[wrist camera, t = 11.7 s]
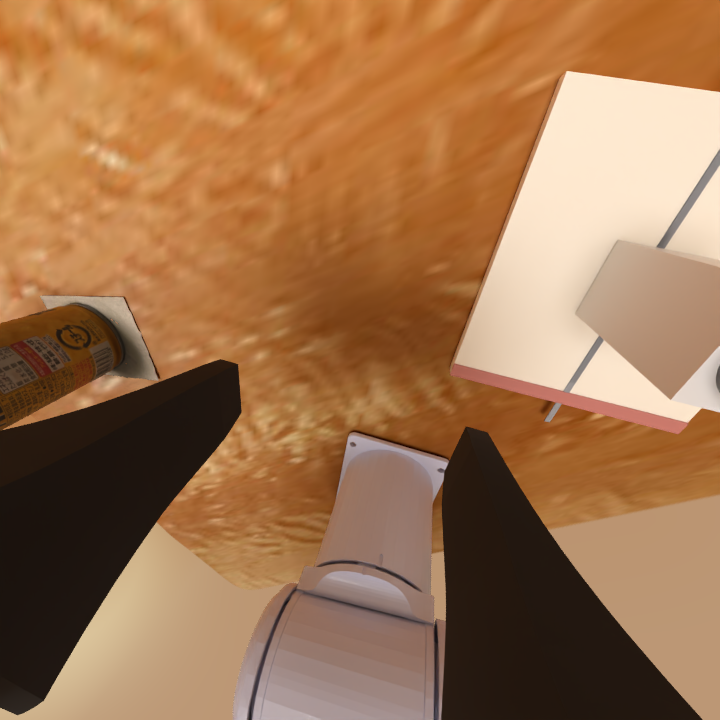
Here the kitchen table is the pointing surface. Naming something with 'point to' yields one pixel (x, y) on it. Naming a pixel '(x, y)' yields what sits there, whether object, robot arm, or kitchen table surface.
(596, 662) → the robot arm
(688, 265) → the white bottle
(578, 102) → the notepad
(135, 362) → the condiment
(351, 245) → the kitchen table surface
